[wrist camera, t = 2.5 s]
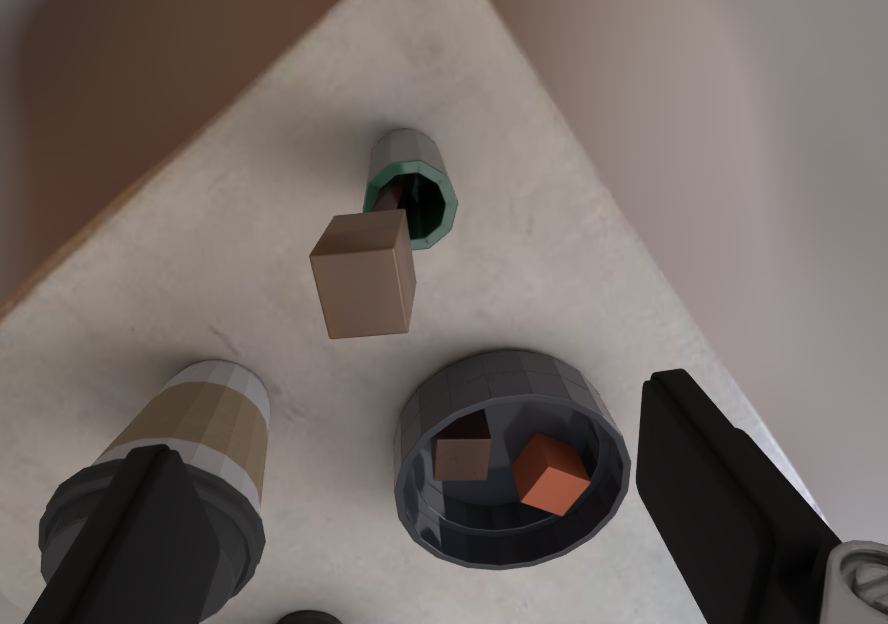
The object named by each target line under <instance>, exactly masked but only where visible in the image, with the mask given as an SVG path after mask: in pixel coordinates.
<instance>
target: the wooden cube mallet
mask: <svg viewBox="0 0 888 624" xmlns="http://www.w3.org/2000/svg"><path fill="white" fill-rule="evenodd" d="M414 183H415V176H414V174H413V173H410V174H400V175H395V176H394V177H393V178H392V179H391V180H390V181H389V182H388V183H386V184H385V185H384V186H383V187H382V188H381V191H380V193H379V195H378V197H377V199H376V201H375V204H374V206H373V208H372V210H371V212H367V213H358V214H348V215H338V216H334V217H333V219H332V220H331V222H330V223H329V225H328V227H327V228H326V230H325V231H324V233H323V235H322V236H321V238H320V239H319V241H318V242H317V244H316V246H315V247H314V249H313V250H312V252H311V254H310V255H309V258H310V262H311V266H312V270H313V274H314V278H315V282H316V286H317V290H318V294H319V299H320V303H321V307H322V311H323V315H324V319H325V323H326V327H327V331H328V335H329V338H330V339H340V338H352V337H364V336H376V335H388V334H400V333H407V332H408V330H409V324H410V318H411V312H412V306H413V300H414V294H415V288H416V276H415V270H414V263H413V256H412V250H411V243H410V237H409V230H408V223H407V217H406V212H407V208H408V205H409V201H410V197H411V194H412V190H413V187H414Z"/></svg>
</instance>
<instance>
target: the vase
mask: <svg viewBox="0 0 888 624" xmlns="http://www.w3.org/2000/svg"><path fill="white" fill-rule="evenodd" d="M277 624H342V623H341V622H340V621H339V620H338V619H336V618H335V617H332V616H330V615H327V614H325V613H320V612H313V611H305V612H297V613H294V614H290V615H288V616H286V617H284V618H283V619H281V620H280V621H279V622H278V623H277Z"/></svg>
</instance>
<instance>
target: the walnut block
mask: <svg viewBox="0 0 888 624" xmlns="http://www.w3.org/2000/svg"><path fill="white" fill-rule="evenodd" d="M491 442H492V438H491V433H490V429H489V425H488V421H487V417H486V413H485V409H481V410H478V411H476V412H473V413H470V414H468V415H465V416H463V417H460V418H457V419H456V420H455V421H453V422H452V423H450V424H449V425H448V426H446V427H445V428H444V429H442V430H441V431H439V432H438V433H437V434H435V435H434V436H433V437H431V442H430V447H431V458H432V468H433V479H434V481H463V480H486V479H487V473H488V465H489V458H490V450H491Z"/></svg>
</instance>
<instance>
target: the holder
mask: <svg viewBox="0 0 888 624" xmlns="http://www.w3.org/2000/svg"><path fill="white" fill-rule="evenodd" d="M410 173H413V174H414V176H415V183H414V187H413V190H412V194H411V197H410V201H409V205H408V208H407V212H406V217H407V223H408V230H409V237H410V243H411V250H420V249H429V248H431V247H432V246H433V245H434V244H435V243H437V242H438V241H439V240H440V239H441V238H443V237H444V236H445V235H446V234H447V233H448V232H450V230H451V229H452V226H453V222H454V218H455V214H456V210H457V206H458V200H457V197H456V195H455V192H454V189H453V187H452V184H451V182H450V179H449V176H448V174H447V171H446V168H445V166H444V163H443V161H442V158H441V156H440V153H439V151H438V148H437V146H436V144H435V142H434V141H433V140H431V139H430V138H429V137H428V136H427V135H425V134H424V133H422V132H420V131H417V130H414V129H406V128H403V129H397V130H394V131H391V132H389V133H387V134H386V135H384V136H383V137H382V138H381V139H380V140H379V141H378V142H377V144H376V145H375V146H374V147H373V149H372V155H371V161H370V166H369V172H368V179H367V185H366V191H365V198H364V204H363V213H367V212H371V210H372V208H373V206H374V204H375V201H376V199H377V197H378V195H379V193H380V191H381V188H382V187H383V186H384V185H385V184H386V183H388V182H389V181H390V180H391V179H392V178H393V177H394V176H395V175H400V174H410Z"/></svg>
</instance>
